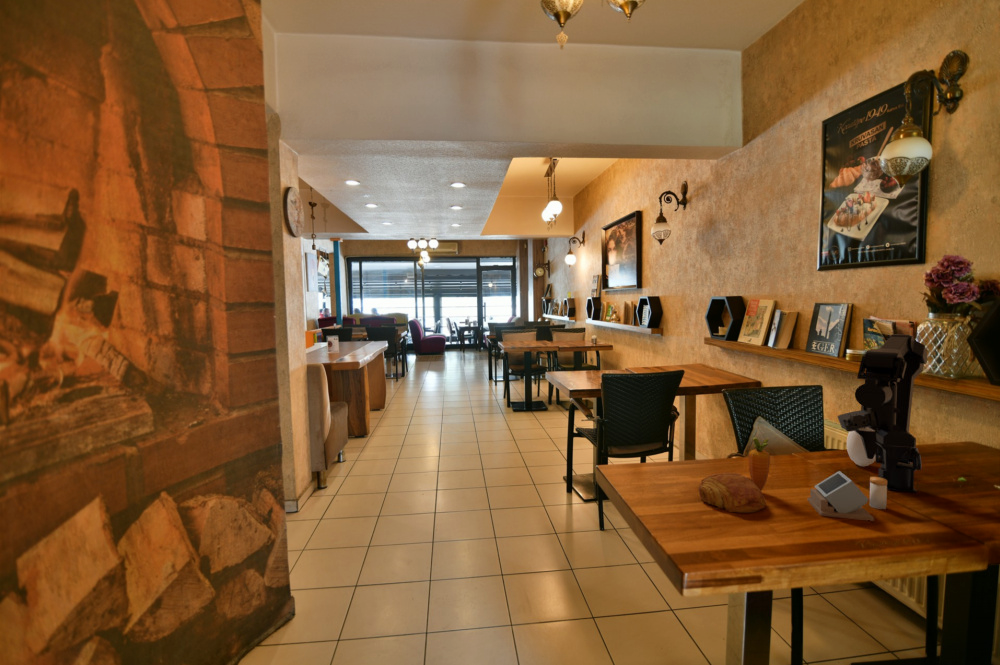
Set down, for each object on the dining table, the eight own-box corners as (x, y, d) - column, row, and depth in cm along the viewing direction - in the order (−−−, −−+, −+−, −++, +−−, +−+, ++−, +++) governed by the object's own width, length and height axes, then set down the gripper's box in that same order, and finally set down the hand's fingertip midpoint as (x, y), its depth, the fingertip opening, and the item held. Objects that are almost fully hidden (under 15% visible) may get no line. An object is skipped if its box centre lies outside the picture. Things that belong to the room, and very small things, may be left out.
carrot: (768, 490, 124) (769, 435, 123) (770, 497, 120) (771, 440, 119) (747, 487, 126) (748, 433, 126) (748, 494, 122) (749, 438, 121)
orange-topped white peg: (882, 504, 115) (883, 477, 114) (889, 510, 111) (890, 482, 111) (866, 503, 116) (867, 476, 115) (873, 508, 112) (873, 480, 112)
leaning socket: (856, 505, 114) (857, 471, 114) (873, 521, 106) (875, 484, 105) (807, 500, 117) (808, 467, 117) (820, 515, 109) (821, 479, 108)
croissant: (691, 500, 123) (687, 471, 123) (745, 490, 125) (741, 461, 124) (721, 524, 109) (717, 491, 109) (782, 512, 110) (778, 479, 110)
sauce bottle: (881, 471, 138) (883, 412, 137) (849, 467, 141) (851, 410, 140) (873, 463, 145) (875, 407, 144) (843, 460, 148) (844, 405, 147)
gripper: (827, 394, 124) (826, 450, 124) (859, 408, 106) (857, 474, 106) (877, 395, 120) (875, 454, 121) (918, 411, 102) (916, 479, 103)
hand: (879, 464), depth 113 cm, fingers open, 9 cm apart
